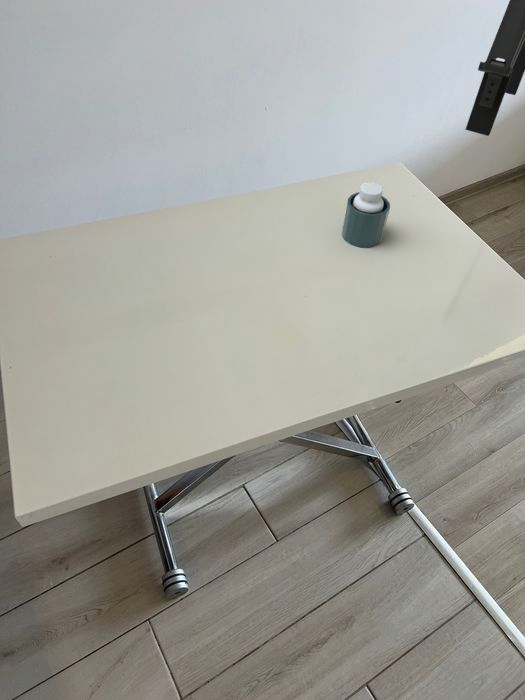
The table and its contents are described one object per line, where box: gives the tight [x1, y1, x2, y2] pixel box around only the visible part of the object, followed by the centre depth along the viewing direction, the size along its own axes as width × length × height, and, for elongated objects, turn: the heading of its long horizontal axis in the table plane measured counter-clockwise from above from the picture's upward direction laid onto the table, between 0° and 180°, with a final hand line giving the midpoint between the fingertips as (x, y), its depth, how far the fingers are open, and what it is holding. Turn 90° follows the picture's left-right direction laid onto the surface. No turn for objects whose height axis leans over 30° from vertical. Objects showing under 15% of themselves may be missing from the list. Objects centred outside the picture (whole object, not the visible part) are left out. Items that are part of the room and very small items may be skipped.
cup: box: [341, 191, 391, 249], centre depth 98 cm, size 8×8×7 cm
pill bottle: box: [353, 181, 384, 214], centre depth 97 cm, size 5×5×10 cm
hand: (492, 110), depth 66 cm, fingers open, 13 cm apart
